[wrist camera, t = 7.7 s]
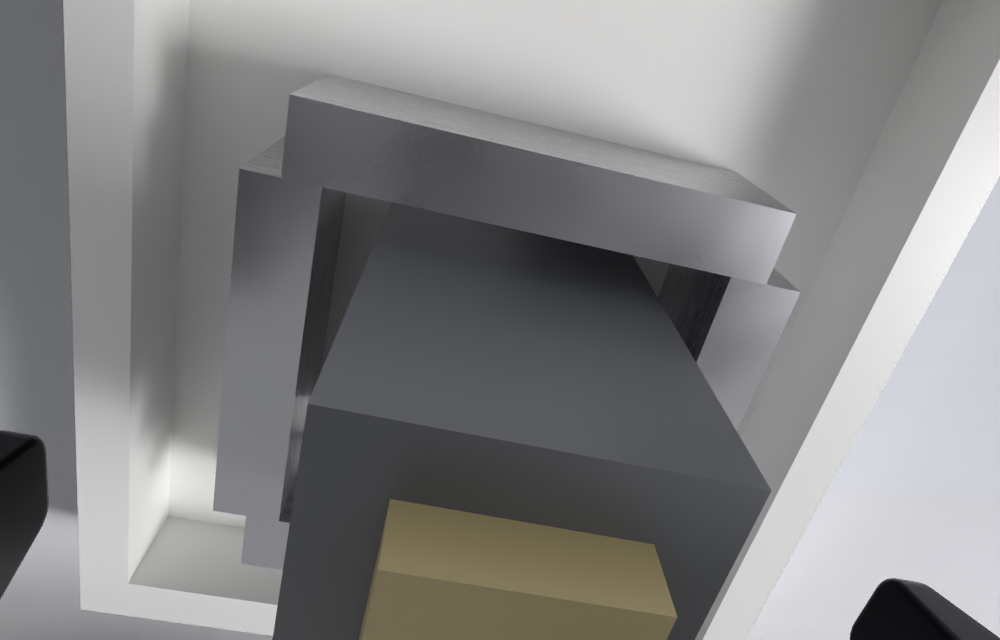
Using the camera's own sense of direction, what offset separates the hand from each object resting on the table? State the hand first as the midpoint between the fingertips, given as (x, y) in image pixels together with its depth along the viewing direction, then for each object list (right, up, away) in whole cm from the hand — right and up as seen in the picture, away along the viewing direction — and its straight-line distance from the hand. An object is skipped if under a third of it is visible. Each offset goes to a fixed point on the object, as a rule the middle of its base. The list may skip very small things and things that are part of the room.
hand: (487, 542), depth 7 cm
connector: (0, +2, +5) cm, 5 cm away
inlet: (0, +2, +5) cm, 5 cm away
